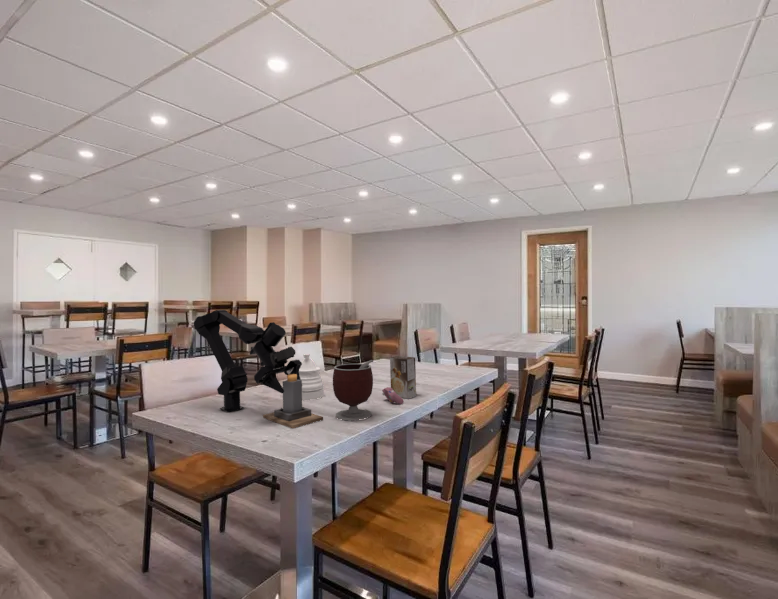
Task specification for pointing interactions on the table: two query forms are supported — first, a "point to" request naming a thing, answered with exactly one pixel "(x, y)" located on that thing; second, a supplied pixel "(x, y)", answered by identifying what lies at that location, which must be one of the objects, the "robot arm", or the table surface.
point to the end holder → (293, 417)
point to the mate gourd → (353, 388)
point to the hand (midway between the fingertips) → (292, 389)
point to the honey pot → (310, 379)
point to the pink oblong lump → (392, 395)
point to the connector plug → (292, 394)
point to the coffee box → (403, 376)
